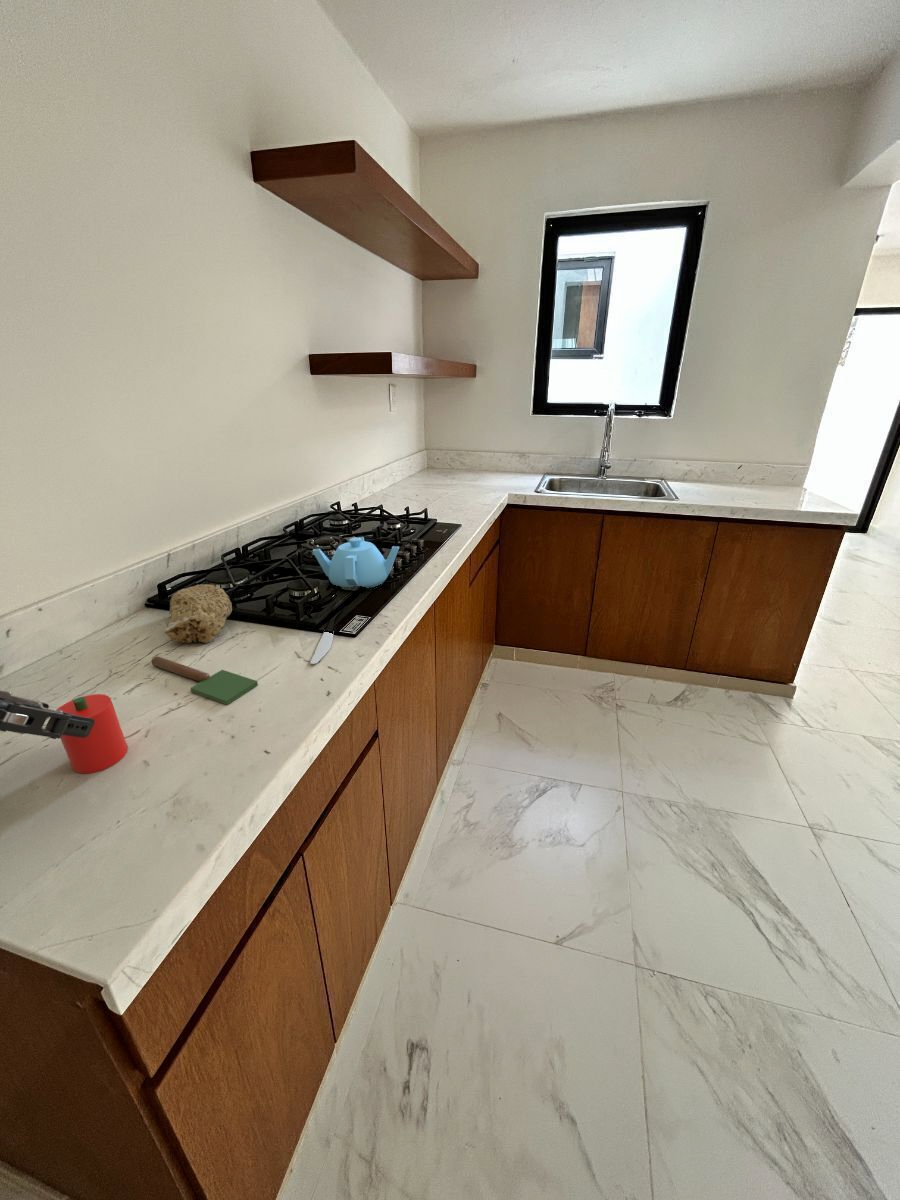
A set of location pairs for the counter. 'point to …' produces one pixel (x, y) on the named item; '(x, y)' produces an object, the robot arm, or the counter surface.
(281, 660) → the counter surface
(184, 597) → the sponge
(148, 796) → the counter surface
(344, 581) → the teapot
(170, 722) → the counter surface
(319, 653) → the butter knife
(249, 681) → the spatula
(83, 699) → the pepper
